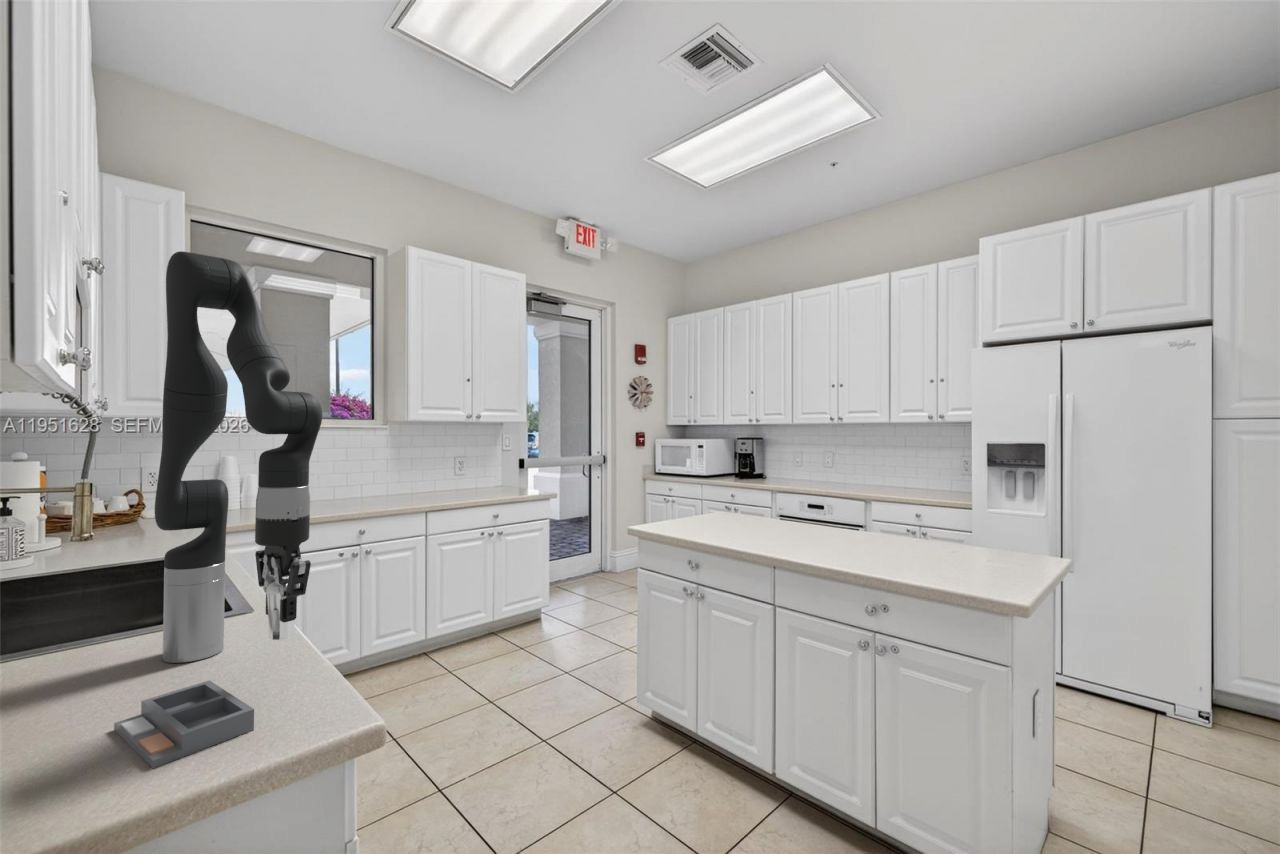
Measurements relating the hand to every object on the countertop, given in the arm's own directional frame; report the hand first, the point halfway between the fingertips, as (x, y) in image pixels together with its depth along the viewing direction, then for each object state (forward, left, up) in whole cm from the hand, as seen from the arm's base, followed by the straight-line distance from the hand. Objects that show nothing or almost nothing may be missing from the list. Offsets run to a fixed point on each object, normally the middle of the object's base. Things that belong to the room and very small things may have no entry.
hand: (280, 616), depth 93 cm
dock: (+1, -13, -13) cm, 18 cm away
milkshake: (0, 0, -3) cm, 3 cm away
